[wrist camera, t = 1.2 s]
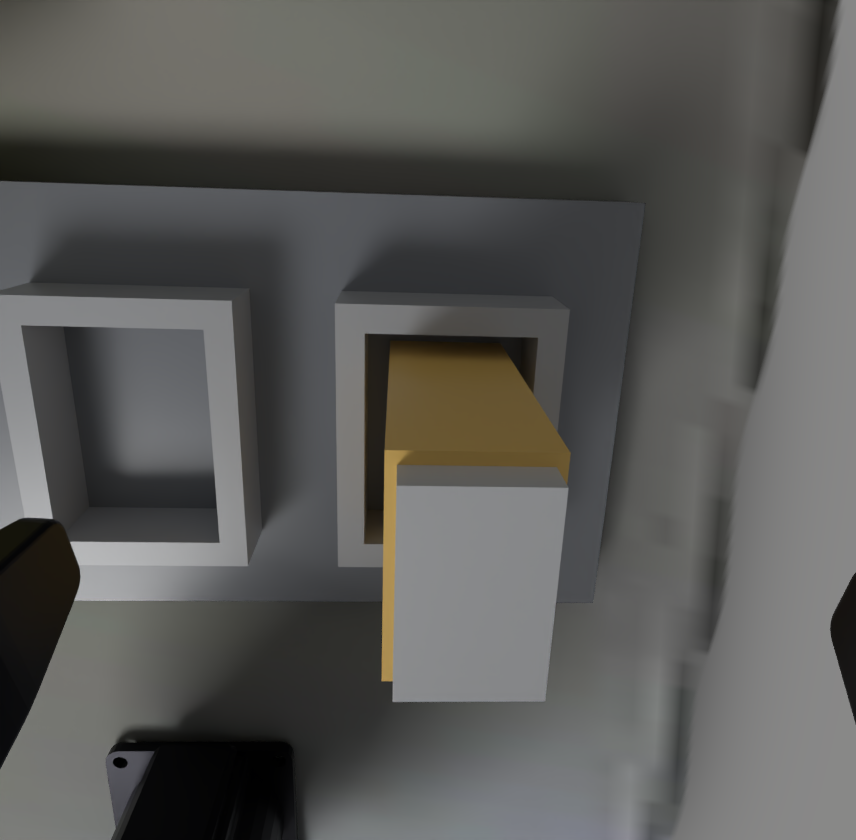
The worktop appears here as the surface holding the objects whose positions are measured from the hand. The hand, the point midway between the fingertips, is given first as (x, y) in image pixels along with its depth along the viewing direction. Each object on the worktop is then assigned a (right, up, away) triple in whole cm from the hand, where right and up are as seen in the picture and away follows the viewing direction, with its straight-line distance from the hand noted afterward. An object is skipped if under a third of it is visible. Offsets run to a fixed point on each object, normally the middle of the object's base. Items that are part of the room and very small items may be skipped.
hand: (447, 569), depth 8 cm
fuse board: (-4, +2, +13) cm, 13 cm away
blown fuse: (0, +2, +11) cm, 12 cm away
